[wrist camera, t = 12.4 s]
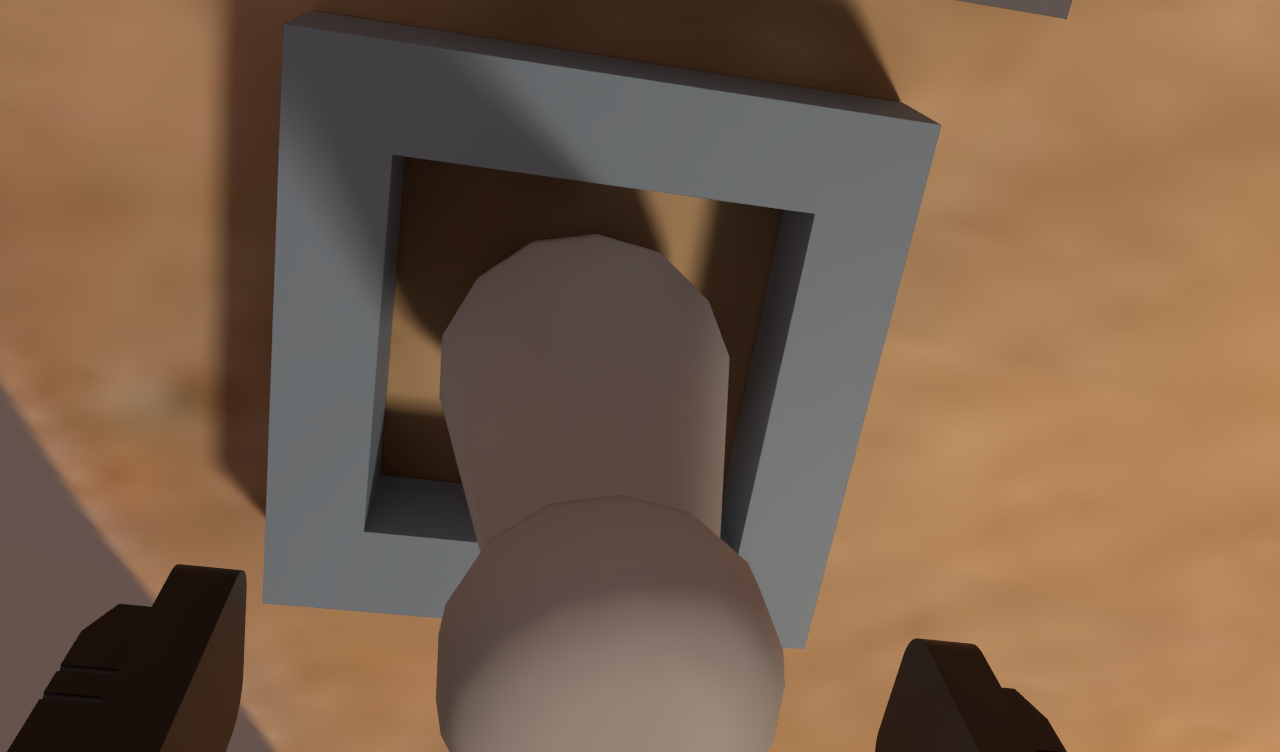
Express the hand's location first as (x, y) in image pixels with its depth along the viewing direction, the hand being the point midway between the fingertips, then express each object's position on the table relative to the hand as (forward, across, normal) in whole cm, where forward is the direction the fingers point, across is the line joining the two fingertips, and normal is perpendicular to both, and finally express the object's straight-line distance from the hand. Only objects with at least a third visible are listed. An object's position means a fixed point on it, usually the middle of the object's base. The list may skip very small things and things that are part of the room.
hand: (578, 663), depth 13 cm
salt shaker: (+12, 0, 0) cm, 12 cm away
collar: (+12, 0, 0) cm, 12 cm away
